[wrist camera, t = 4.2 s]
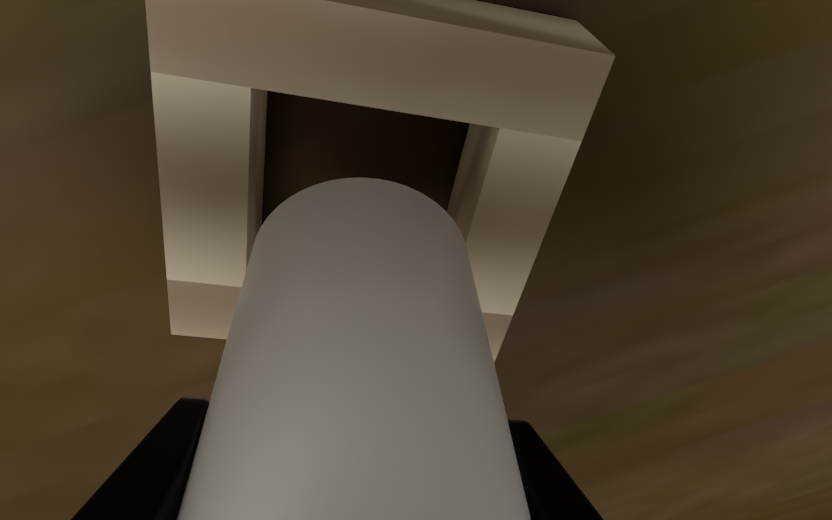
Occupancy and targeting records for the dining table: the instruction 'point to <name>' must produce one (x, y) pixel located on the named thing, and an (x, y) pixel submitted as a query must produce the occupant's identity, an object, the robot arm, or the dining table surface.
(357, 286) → the plug
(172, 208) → the beige square frame
